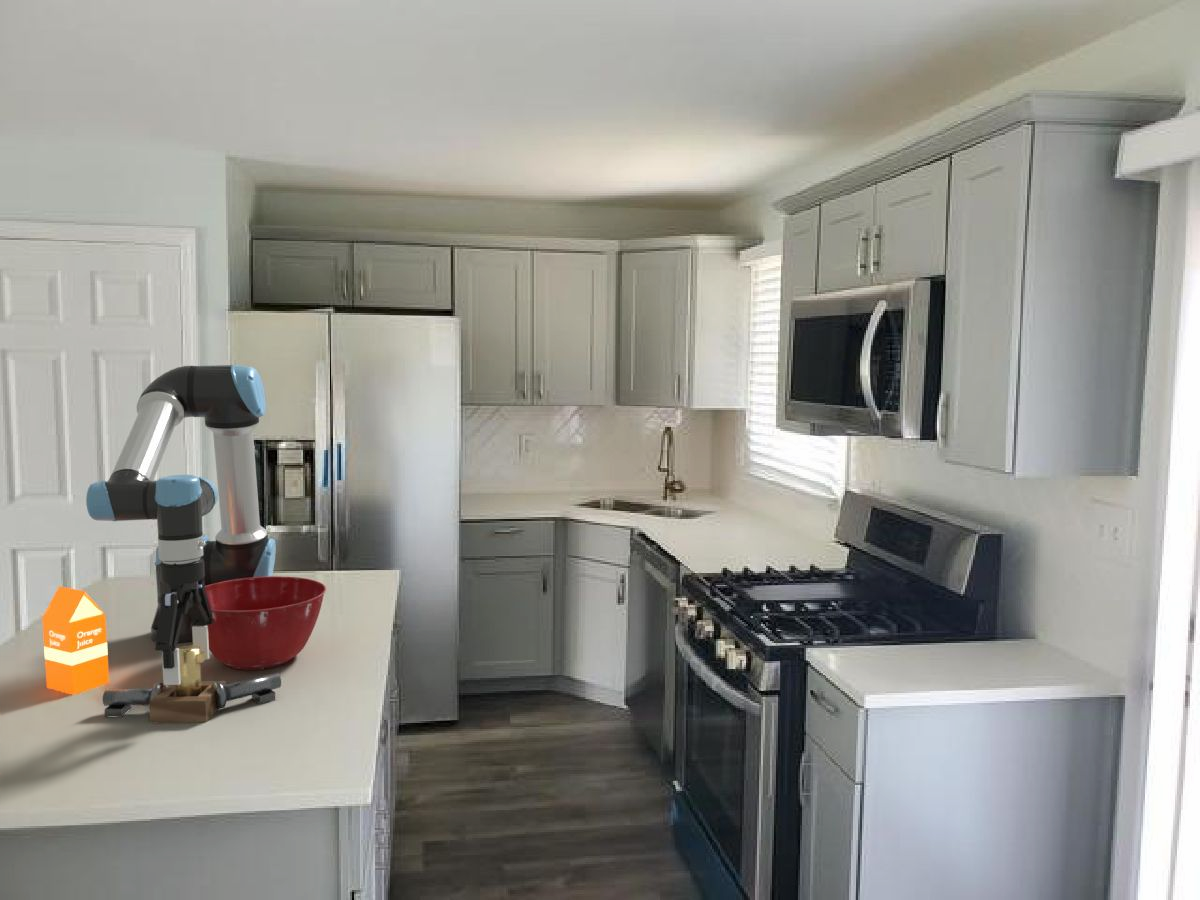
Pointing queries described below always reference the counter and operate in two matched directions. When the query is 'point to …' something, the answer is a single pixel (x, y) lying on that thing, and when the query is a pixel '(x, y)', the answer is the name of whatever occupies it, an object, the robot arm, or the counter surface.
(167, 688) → the coupling block
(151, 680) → the counter surface
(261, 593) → the mixing bowl
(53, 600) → the orange juice
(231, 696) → the shaft
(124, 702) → the shaft
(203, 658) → the joint pin
